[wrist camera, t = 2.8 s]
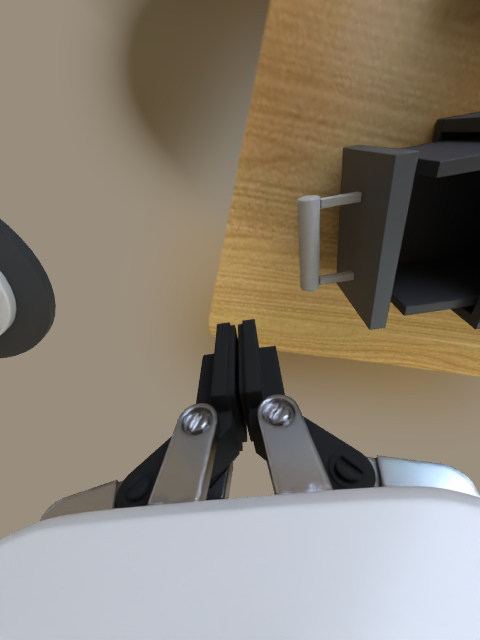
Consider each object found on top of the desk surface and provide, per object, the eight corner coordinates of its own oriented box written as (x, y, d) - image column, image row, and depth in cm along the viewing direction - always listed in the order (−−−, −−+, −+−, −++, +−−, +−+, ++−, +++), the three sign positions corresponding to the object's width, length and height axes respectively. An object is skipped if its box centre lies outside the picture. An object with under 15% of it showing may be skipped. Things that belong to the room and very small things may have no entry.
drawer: (293, 289, 27) (312, 338, 20) (286, 158, 20) (312, 170, 14) (478, 260, 26) (560, 303, 19) (533, 112, 19) (684, 102, 13)
